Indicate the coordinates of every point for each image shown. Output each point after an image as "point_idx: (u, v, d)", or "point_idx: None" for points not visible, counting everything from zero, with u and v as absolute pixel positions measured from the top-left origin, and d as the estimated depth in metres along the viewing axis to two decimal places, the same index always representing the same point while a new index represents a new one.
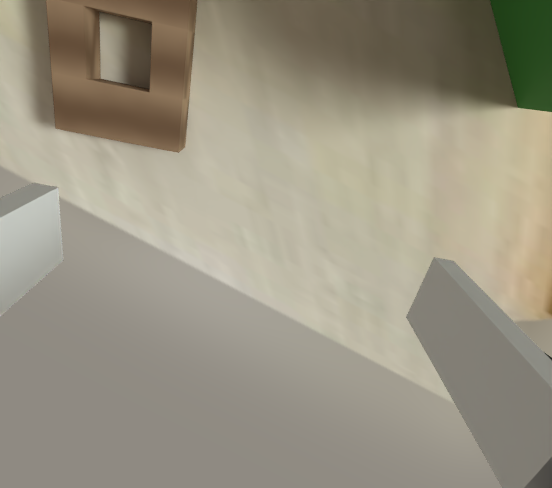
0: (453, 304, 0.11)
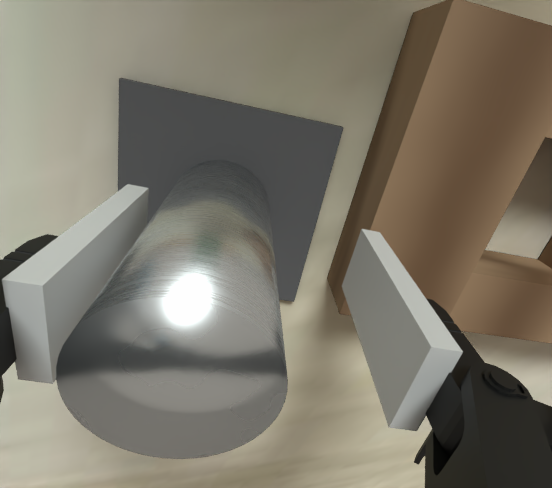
0: (369, 267, 0.12)
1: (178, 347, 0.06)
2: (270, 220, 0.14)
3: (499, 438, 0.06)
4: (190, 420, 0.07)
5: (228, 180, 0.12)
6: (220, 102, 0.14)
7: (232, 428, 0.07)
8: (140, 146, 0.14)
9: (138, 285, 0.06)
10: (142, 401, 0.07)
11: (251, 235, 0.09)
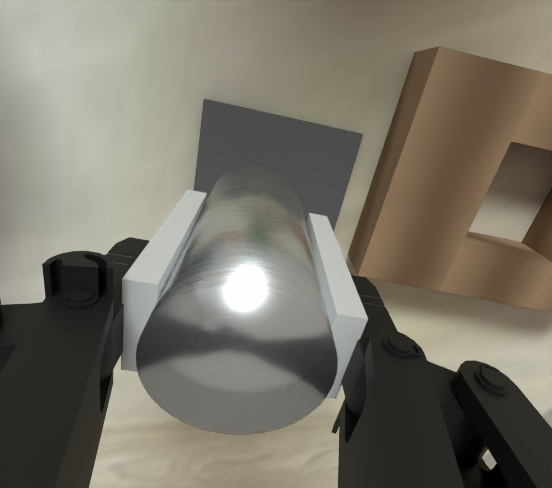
0: None
1: (243, 330, 0.07)
2: None
3: (394, 400, 0.06)
4: (248, 398, 0.08)
5: (267, 182, 0.13)
6: (273, 116, 0.19)
7: (285, 407, 0.08)
8: (214, 147, 0.20)
9: (208, 276, 0.07)
10: (207, 379, 0.08)
11: (295, 233, 0.10)
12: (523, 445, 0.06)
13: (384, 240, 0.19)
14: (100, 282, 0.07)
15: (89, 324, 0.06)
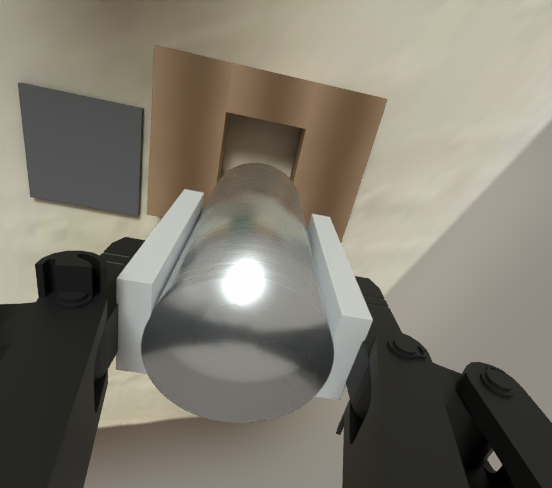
0: (313, 249, 0.12)
1: (243, 321, 0.07)
2: None
3: (399, 401, 0.06)
4: (248, 387, 0.08)
5: (267, 181, 0.13)
6: (72, 95, 0.26)
7: (283, 396, 0.08)
8: (33, 119, 0.27)
9: (211, 268, 0.07)
10: (209, 369, 0.08)
11: (294, 230, 0.10)
12: (529, 447, 0.06)
13: (158, 186, 0.26)
14: (94, 282, 0.07)
15: (83, 324, 0.06)
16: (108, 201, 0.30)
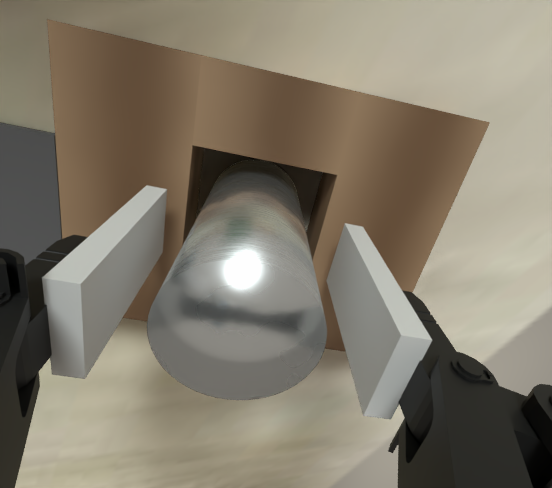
0: (350, 261, 0.12)
1: (242, 301, 0.08)
2: None
3: (465, 424, 0.06)
4: (247, 365, 0.09)
5: (265, 176, 0.14)
6: None
7: (280, 373, 0.09)
8: None
9: (212, 252, 0.08)
10: (211, 347, 0.09)
11: (291, 220, 0.11)
12: None
13: None
14: (12, 280, 0.07)
15: None
16: None
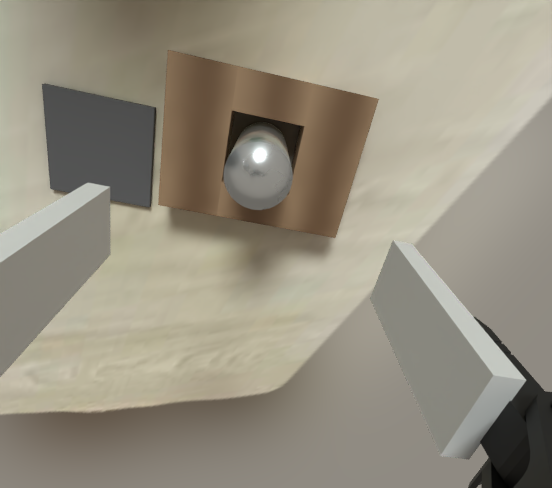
0: (405, 282, 0.11)
1: (260, 160, 0.21)
2: None
3: None
4: (261, 191, 0.22)
5: (268, 127, 0.27)
6: (91, 95, 0.28)
7: (274, 195, 0.22)
8: (55, 117, 0.29)
9: (249, 141, 0.21)
10: (247, 181, 0.22)
11: (280, 141, 0.24)
12: None
13: (169, 178, 0.29)
14: None
15: None
16: (122, 193, 0.32)
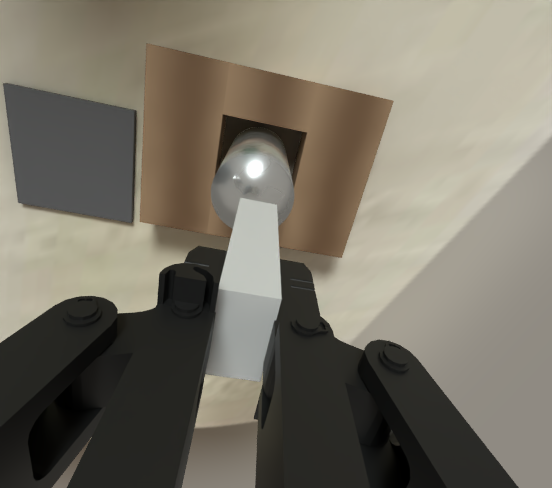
0: None
1: (255, 175, 0.18)
2: None
3: (299, 381, 0.06)
4: None
5: (265, 133, 0.24)
6: (60, 96, 0.25)
7: None
8: (20, 121, 0.25)
9: (241, 153, 0.18)
10: (239, 201, 0.18)
11: (279, 151, 0.21)
12: (422, 422, 0.06)
13: (151, 192, 0.25)
14: (203, 294, 0.08)
15: (195, 335, 0.07)
16: (100, 207, 0.28)
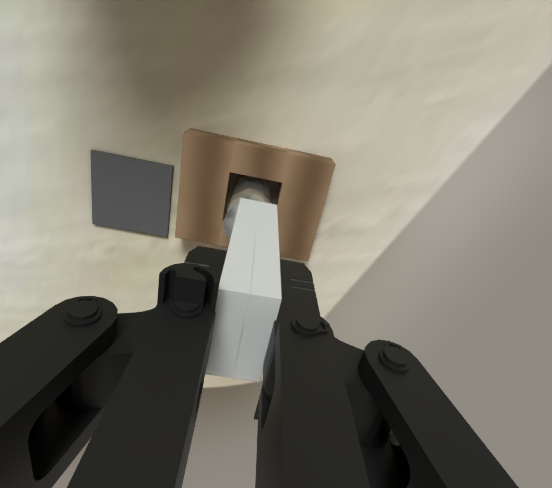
0: None
1: None
2: (270, 196, 0.39)
3: (299, 381, 0.06)
4: None
5: (256, 183, 0.38)
6: (126, 158, 0.39)
7: None
8: (99, 173, 0.39)
9: None
10: None
11: (263, 197, 0.35)
12: (422, 422, 0.06)
13: (183, 219, 0.39)
14: (203, 294, 0.08)
15: (195, 335, 0.07)
16: (146, 227, 0.42)
